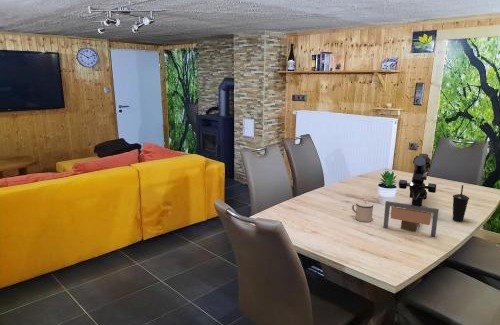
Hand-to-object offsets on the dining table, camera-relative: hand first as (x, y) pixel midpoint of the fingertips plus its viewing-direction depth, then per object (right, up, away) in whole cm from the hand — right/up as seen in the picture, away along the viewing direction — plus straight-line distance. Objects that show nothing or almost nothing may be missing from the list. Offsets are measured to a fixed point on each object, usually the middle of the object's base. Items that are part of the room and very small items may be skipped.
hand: (415, 199), depth 192 cm
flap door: (-10, -9, -16) cm, 21 cm away
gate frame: (-10, -15, -14) cm, 23 cm away
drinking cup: (+23, -12, 0) cm, 26 cm away
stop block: (-6, -13, -7) cm, 16 cm away
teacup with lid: (-28, -11, +3) cm, 31 cm away
